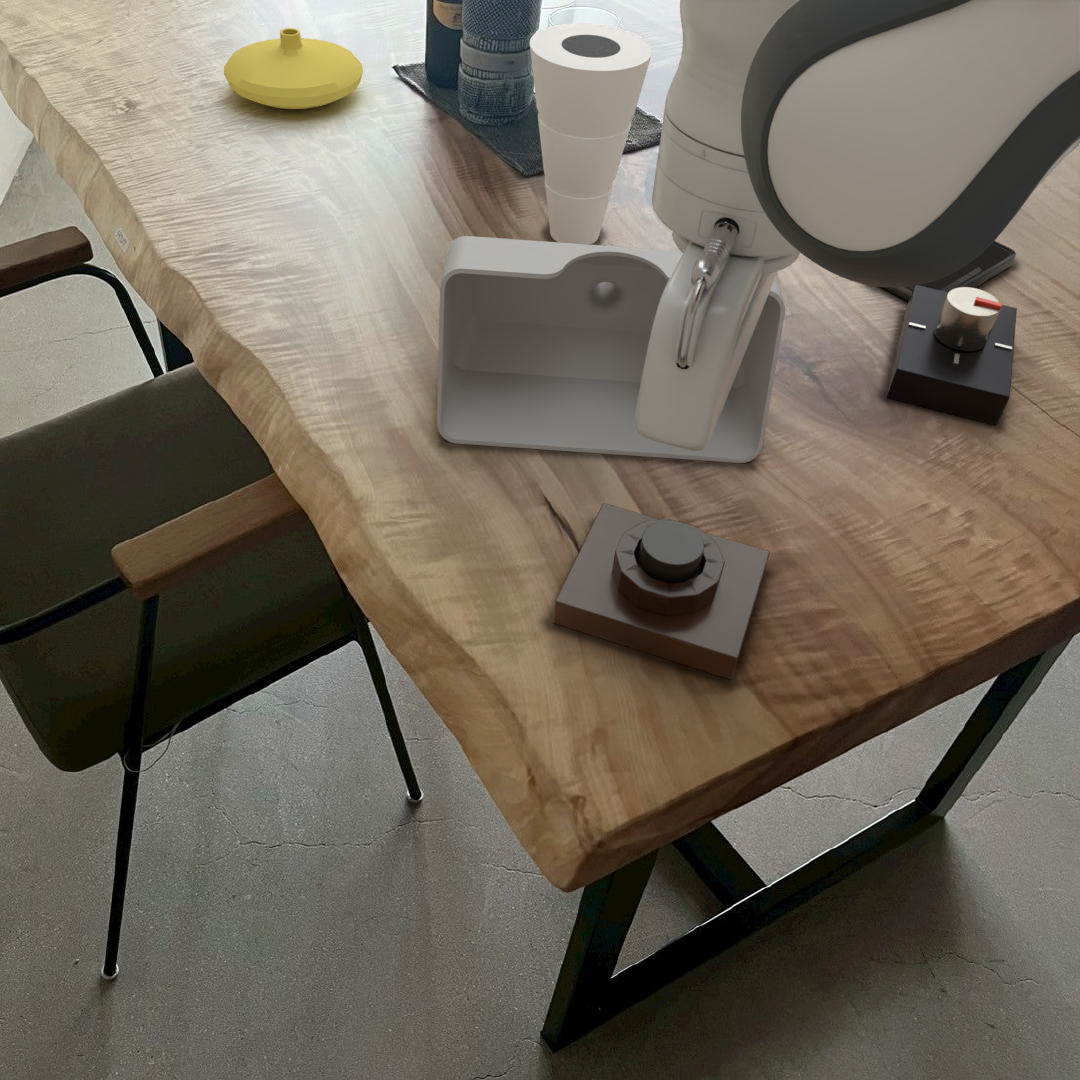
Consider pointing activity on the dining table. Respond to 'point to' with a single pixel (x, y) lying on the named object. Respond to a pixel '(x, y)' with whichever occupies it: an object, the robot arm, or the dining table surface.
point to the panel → (952, 363)
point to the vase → (293, 71)
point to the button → (671, 551)
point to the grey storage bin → (574, 350)
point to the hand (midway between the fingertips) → (700, 409)
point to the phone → (969, 271)
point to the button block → (662, 595)
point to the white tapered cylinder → (584, 118)
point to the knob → (967, 319)
